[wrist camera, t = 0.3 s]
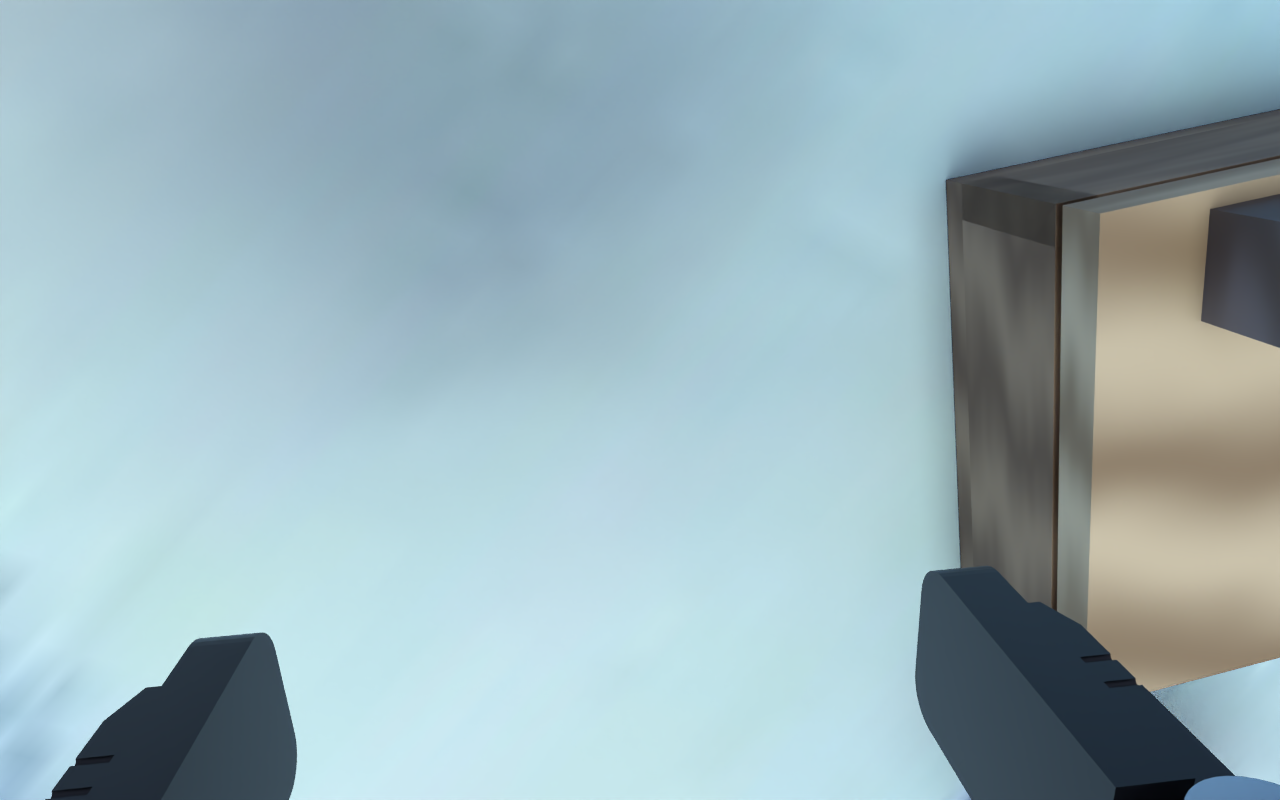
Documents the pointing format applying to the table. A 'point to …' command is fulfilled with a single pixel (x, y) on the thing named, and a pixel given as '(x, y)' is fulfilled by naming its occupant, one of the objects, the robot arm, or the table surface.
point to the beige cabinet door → (1173, 424)
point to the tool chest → (1040, 327)
